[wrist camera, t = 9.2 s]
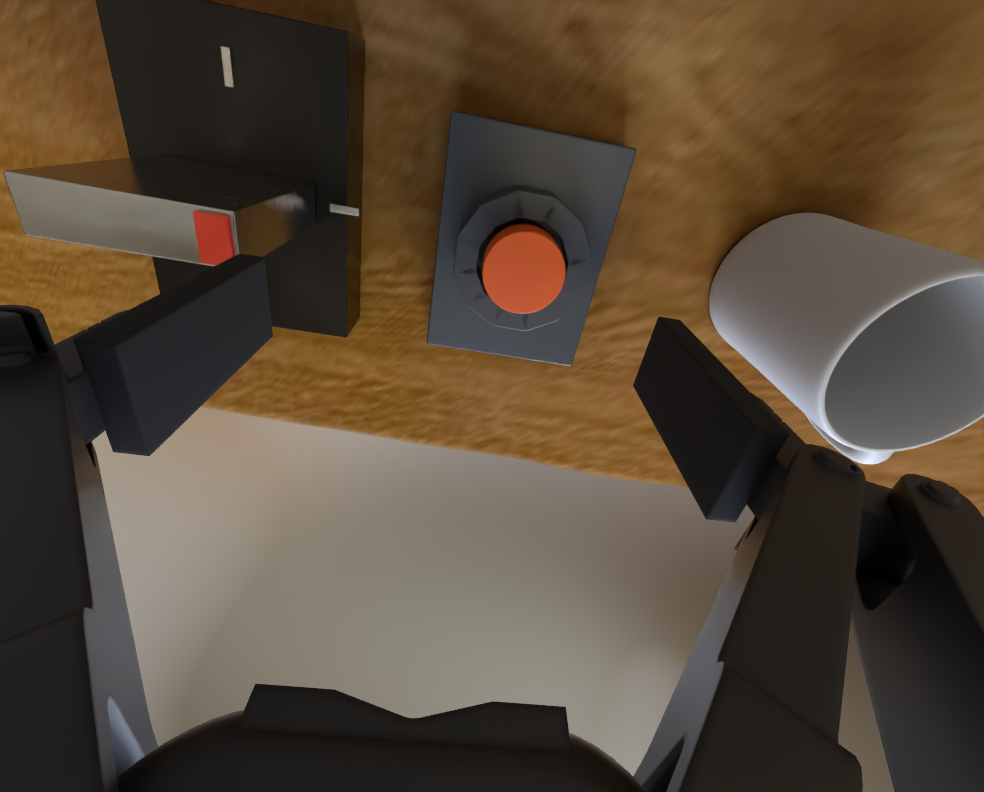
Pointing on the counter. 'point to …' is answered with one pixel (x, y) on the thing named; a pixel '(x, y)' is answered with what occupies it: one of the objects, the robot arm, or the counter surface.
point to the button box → (521, 200)
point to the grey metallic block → (163, 207)
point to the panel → (253, 130)
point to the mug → (858, 330)
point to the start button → (523, 269)
